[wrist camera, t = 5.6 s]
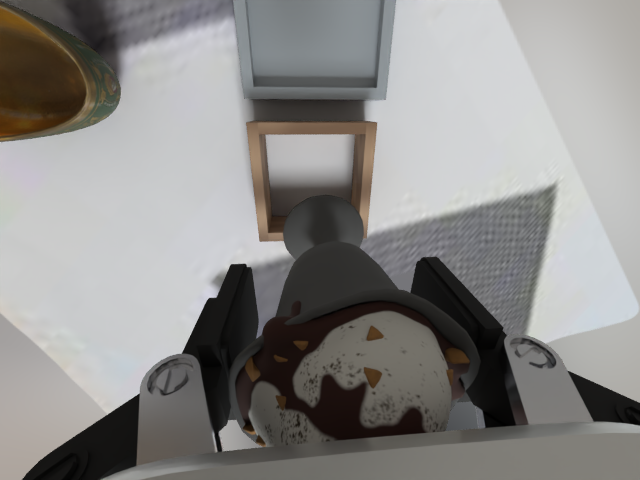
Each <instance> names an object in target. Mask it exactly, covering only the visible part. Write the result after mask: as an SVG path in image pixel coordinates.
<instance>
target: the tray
mask: <svg viewBox="0 0 640 480" xmlns="http://www.w3.org/2000/svg"><path fill="white" fill-rule="evenodd" d="M233 5H234V14H235V23H236V32H237V41H238V50H239V59H240V68H241V77H242V85H243V94H244V99H259V100H386V92H387V83H388V73H389V63H390V53H391V44H392V34H393V24H394V14H395V5H396V0H233Z"/></svg>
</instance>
